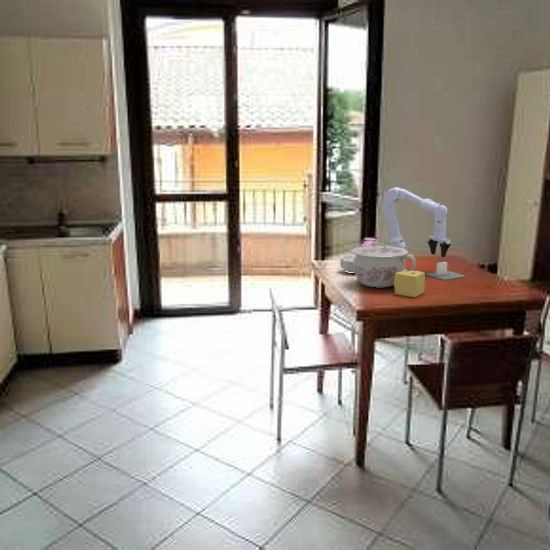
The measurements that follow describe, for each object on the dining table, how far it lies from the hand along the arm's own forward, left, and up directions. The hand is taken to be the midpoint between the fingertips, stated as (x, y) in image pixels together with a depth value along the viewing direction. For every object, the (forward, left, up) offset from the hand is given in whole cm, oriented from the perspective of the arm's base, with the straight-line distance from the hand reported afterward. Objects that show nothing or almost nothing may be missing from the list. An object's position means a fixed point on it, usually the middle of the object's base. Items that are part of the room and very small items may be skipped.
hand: (438, 255), depth 283 cm
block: (0, -3, -9) cm, 10 cm away
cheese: (-36, -23, -10) cm, 44 cm away
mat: (+1, -5, -10) cm, 11 cm away
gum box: (-17, +38, -10) cm, 42 cm away
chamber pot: (-39, -3, -10) cm, 40 cm away
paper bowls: (-35, +24, -10) cm, 44 cm away
